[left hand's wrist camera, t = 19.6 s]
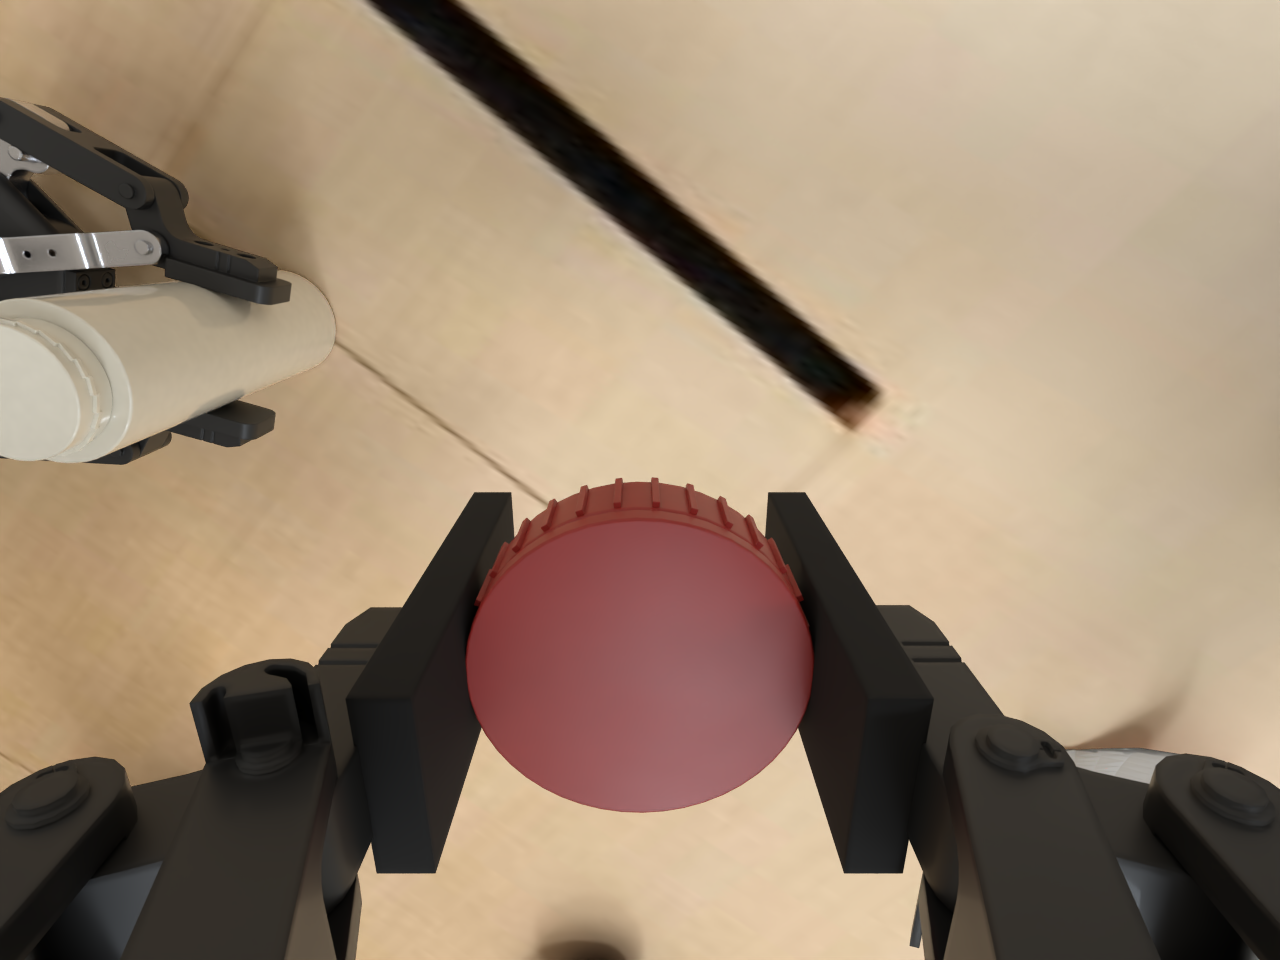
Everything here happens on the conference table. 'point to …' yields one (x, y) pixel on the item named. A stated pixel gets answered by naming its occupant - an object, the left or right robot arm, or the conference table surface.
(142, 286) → the bottle
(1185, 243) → the conference table surface
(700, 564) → the lid
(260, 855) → the left robot arm
